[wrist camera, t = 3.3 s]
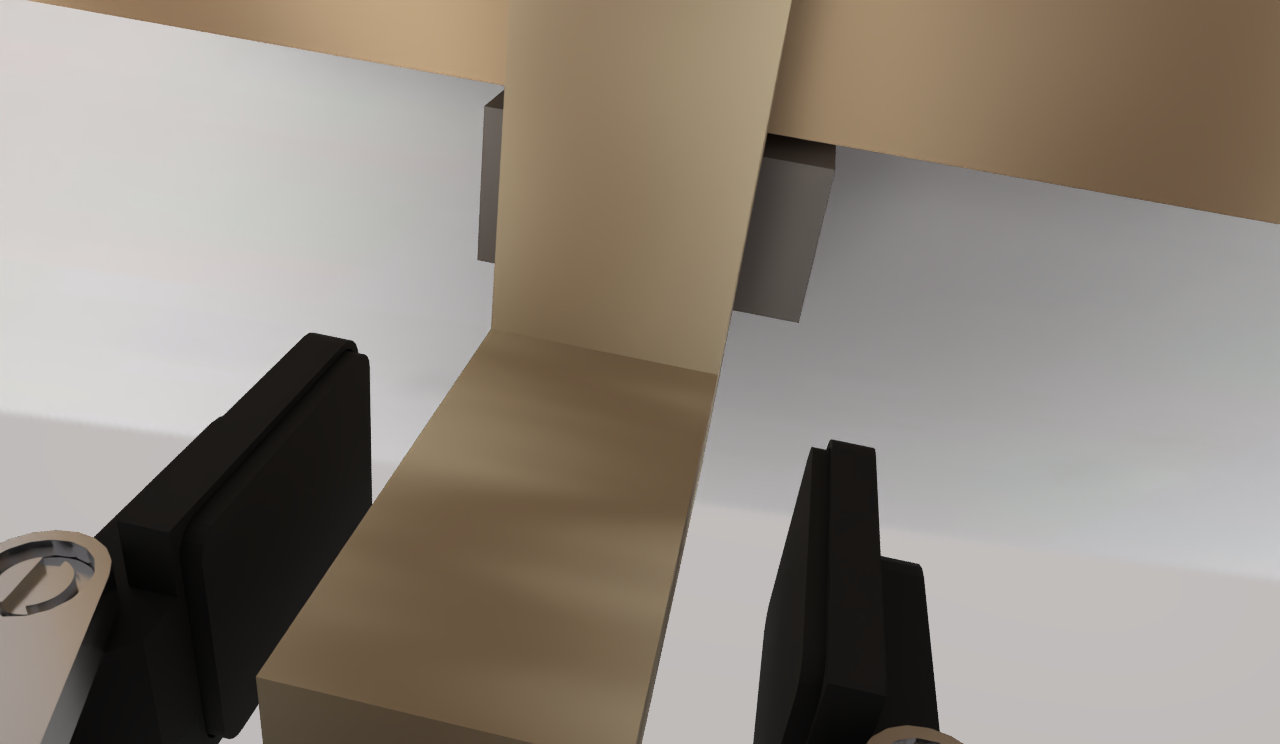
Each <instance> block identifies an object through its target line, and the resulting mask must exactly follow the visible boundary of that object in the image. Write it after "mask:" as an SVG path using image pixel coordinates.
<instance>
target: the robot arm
mask: <svg viewBox="0 0 1280 744" xmlns="http://www.w3.org/2000/svg"><path fill="white" fill-rule="evenodd" d="M371 479H372V478H371V418H370V366H369V359H368V357H367V356H366V355H365V354H360V353H358V349H357V346H356V344H355V343H354V342H353V341H351V340H346V339H341V338H337V337H332V336H327V335H322V334H317V333H308V334H307V335H305V336H304V337H303V338H302V339H301V340H300V341H299V342H298V343H297V344H296V345H295V346H294V347H293V348H292V349H291V350H290V351H289V352H288V353H287V354H286V355H285V356H284V357H283V358H282V359H281V360H280V361H279V362H278V363H277V364H276V365H275V366H274V367H273V368H272V369H271V370H269V371H268V372H267V373H266V374H265V375H264V376H263V377H262V378H261V379H260V380H259V381H258V382H257V383H256V384H255V385H254V386H253V387H252V388H251V389H250V390H249V391H248V392H247V393H246V394H245V395H244V396H243V397H242V398H241V399H240V400H239V401H238V402H237V403H236V404H235V405H234V406H233V407H232V408H231V409H230V410H229V411H228V412H227V413H226V414H225V415H224V416H222V417H219V418H218V419H216V420H215V421H213V422H212V423H211V424H210V425H209V426H208V427H207V428H206V429H205V430H204V431H203V432H202V433H200V434H199V435H198V436H197V437H196V438H195V439H194V440H193V441H192V442H191V443H190V444H189V445H188V446H187V447H186V448H185V449H184V450H183V451H182V452H181V453H180V454H179V455H178V456H177V457H176V458H175V459H174V460H173V461H172V462H171V463H170V464H169V465H168V466H167V467H166V468H165V469H164V470H163V471H161V472H160V473H159V474H158V475H157V476H156V477H155V478H154V479H153V480H152V481H151V482H150V483H149V484H148V485H147V486H146V487H145V488H144V489H143V490H142V491H141V492H140V493H139V494H138V495H137V496H136V497H135V498H134V499H133V500H132V501H131V502H130V503H129V504H128V505H127V506H126V507H124V509H122V510H121V511H120V512H119V513H118V514H117V515H116V516H115V517H114V518H113V519H112V520H111V521H110V522H109V523H108V524H107V525H106V526H105V527H104V528H103V529H102V530H101V531H100V532H99V533H98V534H97V535H96V536H95V537H94V538H93V537H90V536H87V535H84V534H82V533H79V532H70V531H59V530H54V531H44V532H34V533H30V534H26V535H22V536H19V537H15V538H11V539H8V540H6V541H4V542H2V543H0V744H218V743H219V742H220V740H221V739H222V738H227V739H232V738H234V737H236V736H237V735H238V734H239V732H240V731H241V729H243V727H244V725H245V724H246V722H247V721H248V719H249V718H250V716H251V715H252V713H253V712H254V710H255V709H256V707H257V706H258V704H259V701H258V692H257V682H256V676H257V674H258V673H259V671H260V670H261V669H262V667H263V666H264V664H265V663H266V661H267V660H268V658H269V657H270V655H271V654H272V652H273V651H274V649H275V648H276V646H277V645H278V643H279V642H280V640H281V639H282V637H283V636H284V635H285V633H286V632H287V630H288V629H289V627H290V626H291V624H292V623H293V621H294V620H295V618H296V617H297V615H298V614H299V612H300V611H301V609H302V608H303V606H304V605H305V603H306V602H307V601H308V599H309V598H310V596H311V595H312V593H313V592H314V590H315V589H316V587H317V586H318V584H319V583H320V581H321V580H322V578H323V577H324V575H325V574H326V572H327V571H328V569H329V568H330V567H331V565H332V564H333V562H334V561H335V559H336V558H337V556H338V555H339V553H340V552H341V550H342V549H343V547H344V546H345V544H346V543H347V541H348V540H349V538H350V537H351V535H352V534H353V533H354V531H355V530H356V528H357V527H358V525H359V524H360V522H361V521H362V519H363V518H364V516H365V515H366V513H367V512H368V510H369V509H370V507H371V506H372V480H371ZM753 744H963V743H961V742H959V741H958V740H956V739H955V738H953V737H952V736H949V735H946V734H944V733H941V732H940V730H939V721H938V712H937V702H936V691H935V682H934V672H933V662H932V653H931V643H930V633H929V624H928V613H927V603H926V595H925V584H924V576H923V571H922V568H921V566H920V565H919V564H915V563H911V562H905V561H902V560H897V559H892V558H887V557H883V556H881V555H880V532H879V512H878V491H877V470H876V452H875V449H874V448H871V447H866V446H861V445H856V444H851V443H847V442H842V441H837V440H832V439H831V440H830V441H829V444H828V446H827V449H826V450H824V449H819V448H814V447H812V448H811V450H810V453H809V456H808V460H807V463H806V467H805V471H804V475H803V478H802V482H801V486H800V490H799V494H798V497H797V501H796V505H795V509H794V512H793V516H792V520H791V524H790V527H789V531H788V535H787V539H786V543H785V546H784V550H783V554H782V558H781V562H780V565H779V569H778V573H777V577H776V580H775V584H774V588H773V592H772V596H771V599H770V603H769V607H768V612H767V617H766V624H765V630H764V640H763V650H762V660H761V671H760V681H759V691H758V702H757V712H756V721H755V732H754V743H753Z"/></svg>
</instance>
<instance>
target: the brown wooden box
mask: <svg viewBox="0 0 1280 744" xmlns="http://www.w3.org/2000/svg"><path fill="white" fill-rule="evenodd" d="M503 107H504V90H503V91H502V92H501V93H500V94H499V95H497V96H496V97H495V98H494V99H493V100H491V101H490V102H489V103H488V104H487V105H485V106H484V127H483V149H482V171H481V193H480V215H479V237H478V259H477V260H480V261H485V262H490V263H495V251H496V233H497V215H498V197H499V179H500V161H501V143H502V125H503ZM835 154H836V145H833V144H828V143H822V142H817V141H811V140H806V139H800V138H794V137H789V136H783V135H778V134H772V133H767V138H766V143H765V148H764V153H763V158H762V163H761V168H760V173H759V178H758V183H757V188H756V193H755V198H754V204H753V209H752V214H751V219H750V224H749V229H748V234H747V239H746V244H745V249H744V254H743V259H742V264H741V269H740V274H739V279H738V285H737V290H736V295H735V300H734V305H733V310H735V311H741V312H746V313H751V314H756V315H761V316H766V317H771V318H776V319H781V320H786V321H792V322H797V323H799V319H800V315H801V311H802V307H803V302H804V298H805V294H806V290H807V286H808V281H809V277H810V273H811V269H812V265H813V260H814V256H815V252H816V248H817V244H818V239H819V235H820V231H821V227H822V223H823V219H824V214H825V210H826V206H827V202H828V198H829V193H830V189H831V185H832V181H833V177H834V172H835Z"/></svg>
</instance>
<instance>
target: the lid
mask: <svg viewBox="0 0 1280 744" xmlns="http://www.w3.org/2000/svg"><path fill="white" fill-rule="evenodd" d="M29 1H35V2H41V3H46V4H52V5H57V6H63V7H68V8H74V9H80V10H85V11H91V12H96V13H102V14H108V15H113V16H119V17H124V18H130V19H135V20H141V21H147V22H152V23H158V24H163V25H169V26H175V27H180V28H186V29H191V30H197V31H202V32H208V33H214V34H219V35H225V36H230V37H236V38H242V39H247V40H253V41H258V42H264V43H269V44H275V45H281V46H286V47H292V48H297V49H303V50H309V51H314V52H320V53H325V54H331V55H336V56H342V57H348V58H353V59H359V60H364V61H370V62H376V63H381V64H387V65H392V66H398V67H403V68H409V69H415V70H420V71H426V72H431V73H437V74H443V75H448V76H454V77H459V78H465V79H470V80H476V81H482V82H487V83H493V84H498V85H504V86H505V70H506V52H507V34H508V16H509V0H29ZM768 133H772V134H778V135H783V136H789V137H794V138H800V139H806V140H811V141H817V142H822V143H828V144H833V145H839V146H845V147H850V148H856V149H861V150H867V151H873V152H878V153H884V154H889V155H895V156H900V157H906V158H912V159H917V160H923V161H928V162H934V163H940V164H945V165H951V166H956V167H962V168H967V169H973V170H979V171H984V172H990V173H995V174H1001V175H1007V176H1012V177H1018V178H1023V179H1029V180H1034V181H1040V182H1046V183H1051V184H1057V185H1062V186H1068V187H1074V188H1079V189H1085V190H1090V191H1096V192H1101V193H1107V194H1113V195H1118V196H1124V197H1129V198H1135V199H1141V200H1146V201H1152V202H1157V203H1163V204H1168V205H1174V206H1180V207H1185V208H1191V209H1196V210H1202V211H1208V212H1213V213H1219V214H1224V215H1230V216H1235V217H1241V218H1247V219H1252V220H1258V221H1263V222H1269V223H1275V224H1280V0H794V1H793V6H792V11H791V16H790V21H789V26H788V31H787V36H786V41H785V47H784V52H783V57H782V62H781V67H780V72H779V77H778V82H777V87H776V92H775V97H774V102H773V107H772V112H771V117H770V122H769V128H768Z"/></svg>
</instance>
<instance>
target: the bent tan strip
mask: <svg viewBox="0 0 1280 744" xmlns="http://www.w3.org/2000/svg"><path fill="white" fill-rule="evenodd" d="M793 1H794V0H509V16H508V34H507V52H506V70H505V88H504V107H503V125H502V143H501V161H500V179H499V197H498V215H497V233H496V251H495V269H494V287H493V305H492V323H491V330H490V332H489V333H488V334H487V336H486V337H485V339H484V340H483V342H482V343H481V345H480V346H479V348H478V349H477V351H476V352H475V354H474V355H473V357H472V358H471V360H470V361H469V363H468V364H467V366H466V367H465V368H464V370H463V371H462V373H461V374H460V376H459V377H458V379H457V380H456V382H455V383H454V385H453V386H452V388H451V389H450V391H449V392H448V394H447V395H446V397H445V398H444V400H443V401H442V402H441V404H440V405H439V407H438V408H437V410H436V411H435V413H434V414H433V416H432V417H431V419H430V420H429V422H428V423H427V425H426V426H425V428H424V429H423V431H422V432H421V433H420V435H419V436H418V438H417V439H416V441H415V442H414V444H413V445H412V447H411V448H410V450H409V451H408V453H407V454H406V456H405V457H404V459H403V460H402V462H401V463H400V465H399V466H398V467H397V469H396V471H395V472H394V473H393V475H392V477H391V478H390V479H389V481H388V482H387V484H386V485H385V487H384V488H383V490H382V491H381V493H380V494H379V496H378V497H377V499H376V500H375V501H374V503H373V504H372V506H371V507H370V509H369V510H368V512H367V513H366V515H365V516H364V518H363V519H362V521H361V522H360V524H359V525H358V527H357V528H356V530H355V531H354V533H353V534H352V535H351V537H350V538H349V540H348V541H347V543H346V544H345V546H344V547H343V549H342V550H341V552H340V553H339V555H338V556H337V558H336V559H335V561H334V562H333V564H332V565H331V567H330V568H329V569H328V571H327V572H326V574H325V575H324V577H323V578H322V580H321V581H320V583H319V584H318V586H317V587H316V589H315V590H314V592H313V593H312V595H311V596H310V598H309V599H308V601H307V602H306V603H305V605H304V606H303V608H302V609H301V611H300V612H299V614H298V615H297V617H296V618H295V620H294V621H293V623H292V624H291V626H290V627H289V629H288V630H287V632H286V633H285V635H284V636H283V637H282V639H281V640H280V642H279V643H278V645H277V646H276V648H275V649H274V651H273V652H272V654H271V655H270V657H269V658H268V660H267V661H266V663H265V664H264V666H263V667H262V669H261V670H260V671H259V673H258V674H257V676H256V682H257V692H258V701H259V710H260V720H261V728H262V738H263V744H642V739H643V735H644V730H645V726H646V721H647V716H648V712H649V707H650V703H651V698H652V693H653V689H654V684H655V679H656V675H657V670H658V666H659V661H660V656H661V652H662V647H663V642H664V638H665V633H666V628H667V624H668V620H669V614H670V610H671V606H672V601H673V596H674V592H675V587H676V583H677V578H678V573H679V569H680V564H681V559H682V555H683V550H684V546H685V541H686V537H687V532H688V527H689V522H690V518H691V513H692V509H693V504H694V500H695V495H696V490H697V486H698V481H699V477H700V472H701V467H702V462H703V457H704V452H705V447H706V442H707V436H708V431H709V426H710V421H711V416H712V411H713V406H714V401H715V396H716V391H717V386H718V381H719V376H720V371H721V366H722V361H723V355H724V350H725V345H726V340H727V335H728V330H729V325H730V320H731V315H732V310H733V305H734V300H735V295H736V290H737V285H738V279H739V274H740V269H741V264H742V259H743V254H744V249H745V244H746V239H747V234H748V229H749V224H750V219H751V214H752V209H753V204H754V198H755V193H756V188H757V183H758V178H759V173H760V168H761V163H762V158H763V153H764V148H765V143H766V138H767V133H768V128H769V122H770V117H771V112H772V107H773V102H774V97H775V92H776V87H777V82H778V77H779V72H780V67H781V62H782V57H783V52H784V47H785V41H786V36H787V31H788V26H789V21H790V16H791V11H792V6H793Z"/></svg>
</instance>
